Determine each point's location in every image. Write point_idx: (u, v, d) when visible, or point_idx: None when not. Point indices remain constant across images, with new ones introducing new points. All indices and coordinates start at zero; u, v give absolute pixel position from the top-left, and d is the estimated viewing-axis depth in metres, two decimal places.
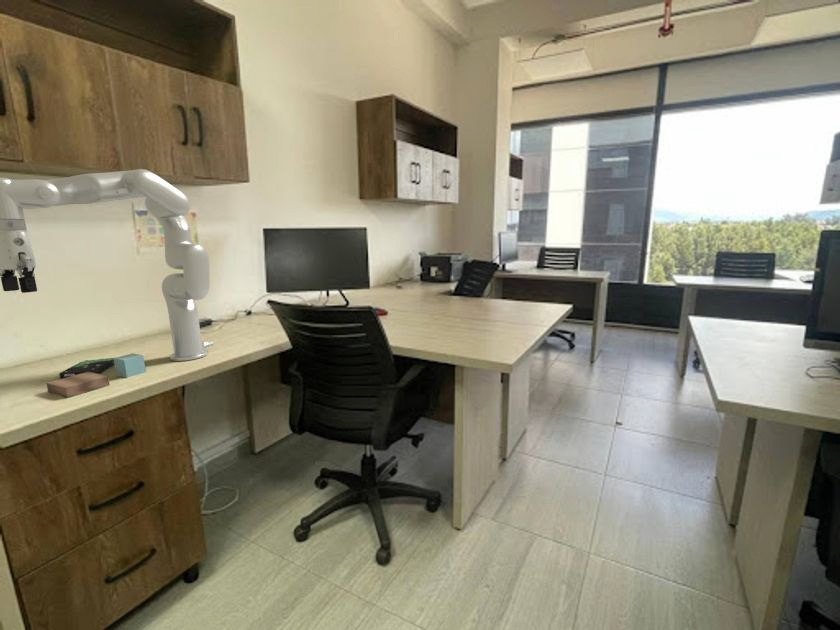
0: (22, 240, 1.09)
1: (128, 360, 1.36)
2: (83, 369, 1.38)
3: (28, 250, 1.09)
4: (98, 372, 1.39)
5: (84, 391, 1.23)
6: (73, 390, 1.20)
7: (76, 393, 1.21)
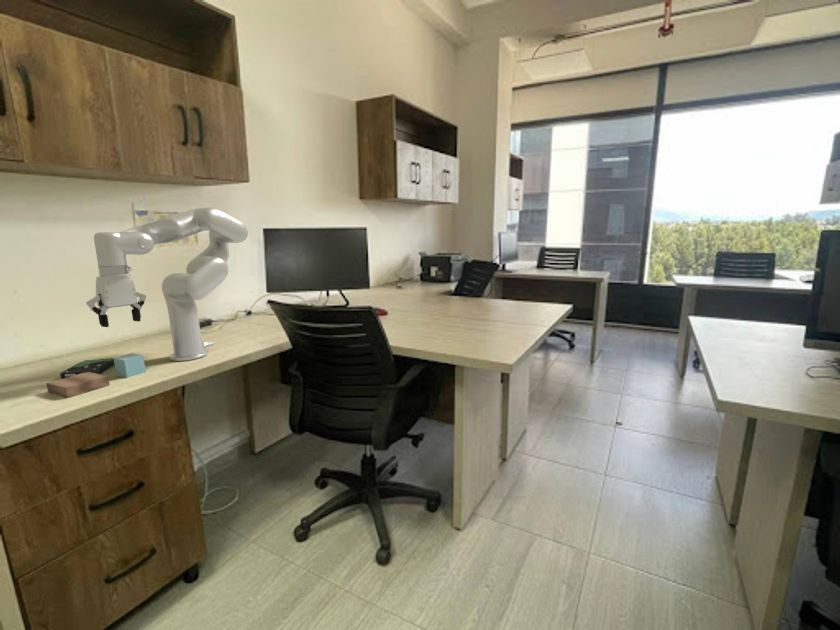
0: None
1: (128, 360, 1.36)
2: (84, 369, 1.38)
3: None
4: (99, 372, 1.39)
5: (84, 391, 1.23)
6: (73, 390, 1.20)
7: (76, 393, 1.21)
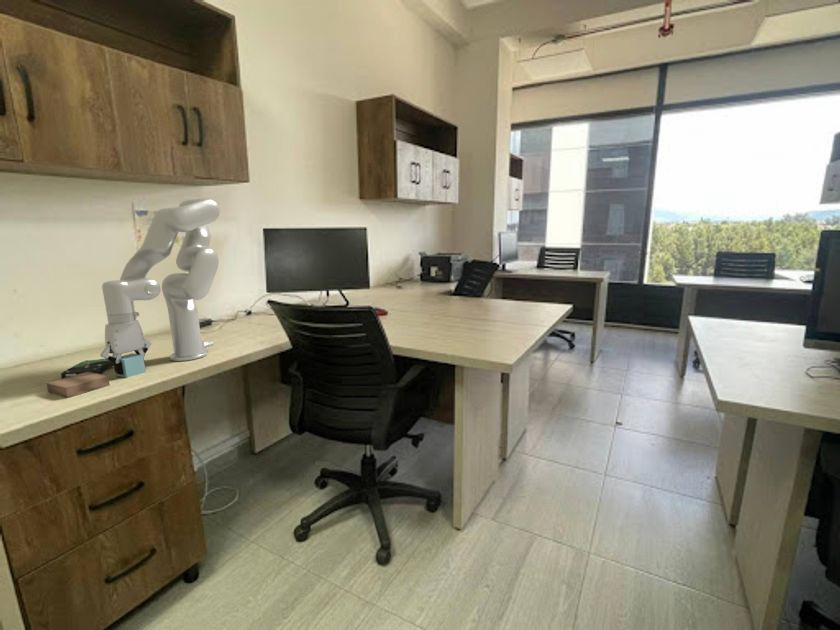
0: None
1: (128, 360, 1.35)
2: (85, 369, 1.38)
3: None
4: (100, 372, 1.40)
5: (84, 391, 1.23)
6: (73, 390, 1.20)
7: (76, 393, 1.21)
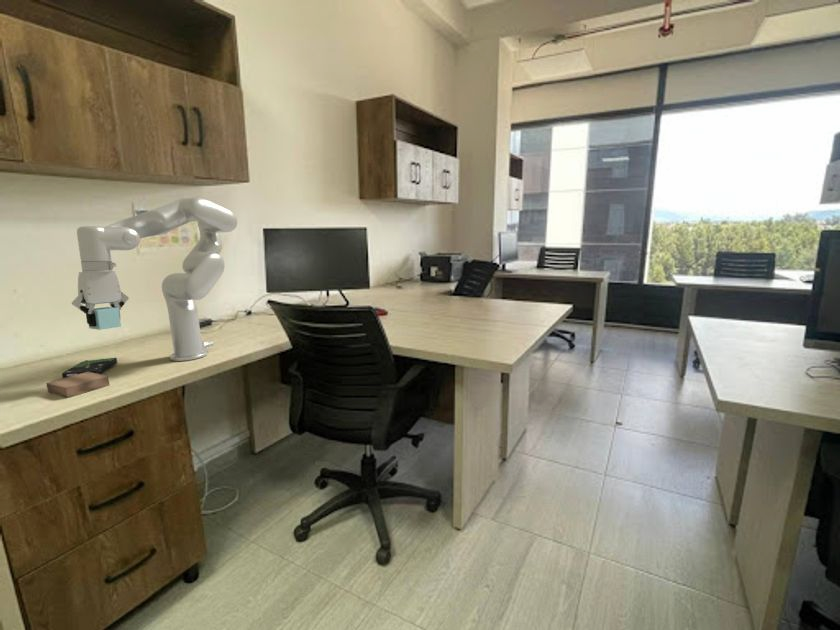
0: None
1: (102, 311, 1.28)
2: (86, 369, 1.38)
3: None
4: (101, 372, 1.40)
5: (84, 391, 1.23)
6: (73, 390, 1.20)
7: (76, 393, 1.21)
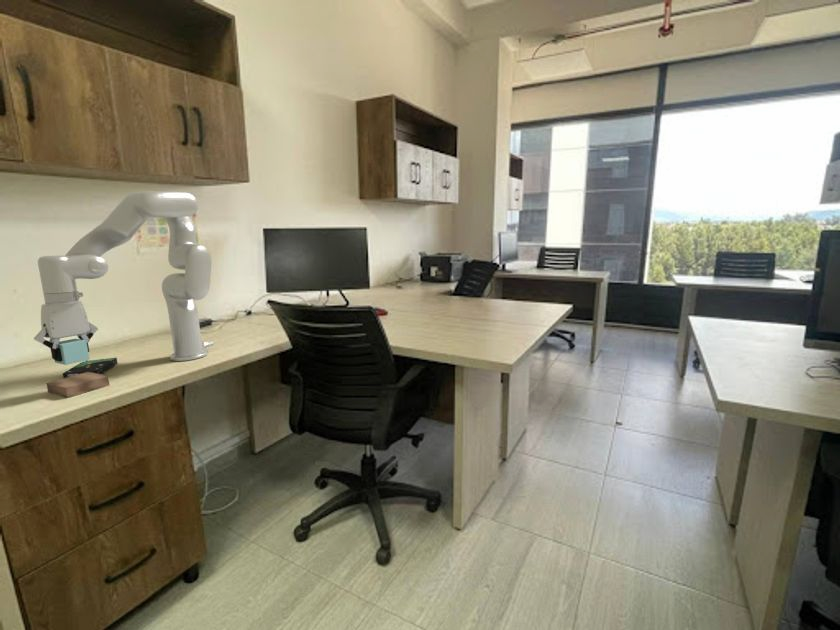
0: None
1: (67, 345, 1.20)
2: (86, 369, 1.38)
3: None
4: (102, 372, 1.40)
5: (84, 391, 1.23)
6: (73, 390, 1.20)
7: (76, 393, 1.21)
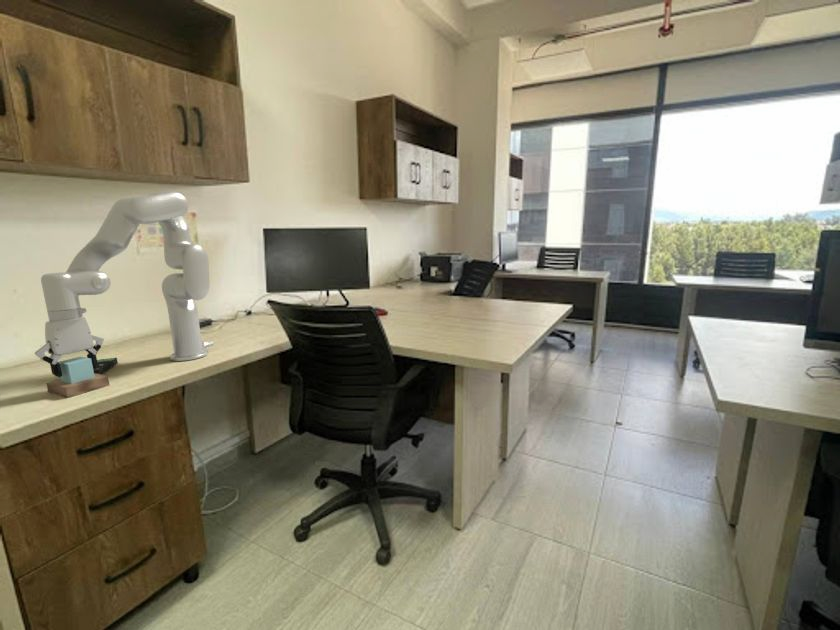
0: None
1: (73, 364, 1.22)
2: None
3: None
4: (102, 372, 1.40)
5: (84, 391, 1.23)
6: (73, 390, 1.20)
7: (76, 393, 1.21)
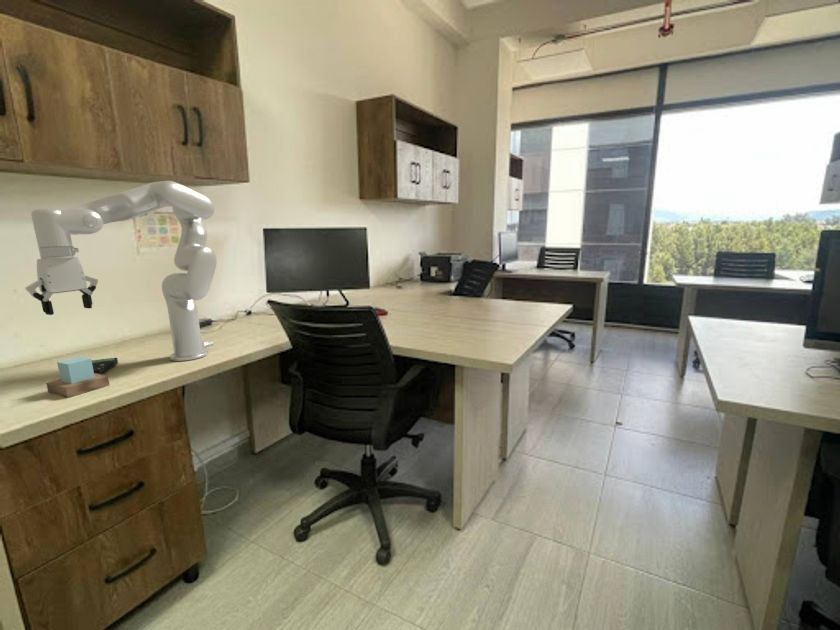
0: None
1: (73, 364, 1.22)
2: None
3: None
4: (104, 371, 1.40)
5: (84, 391, 1.23)
6: (73, 390, 1.20)
7: (76, 393, 1.21)
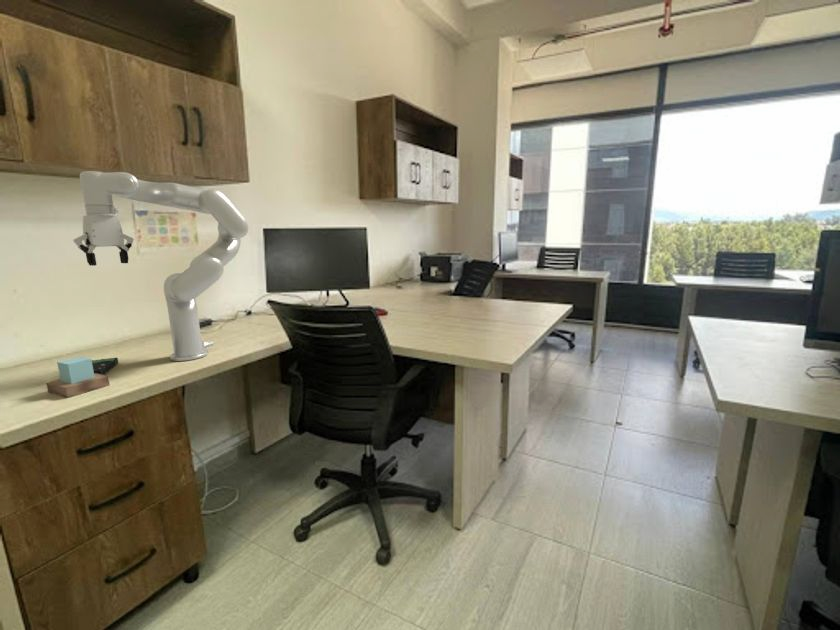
0: None
1: (73, 364, 1.22)
2: None
3: None
4: (105, 371, 1.40)
5: (84, 391, 1.23)
6: (73, 390, 1.20)
7: (76, 393, 1.21)
